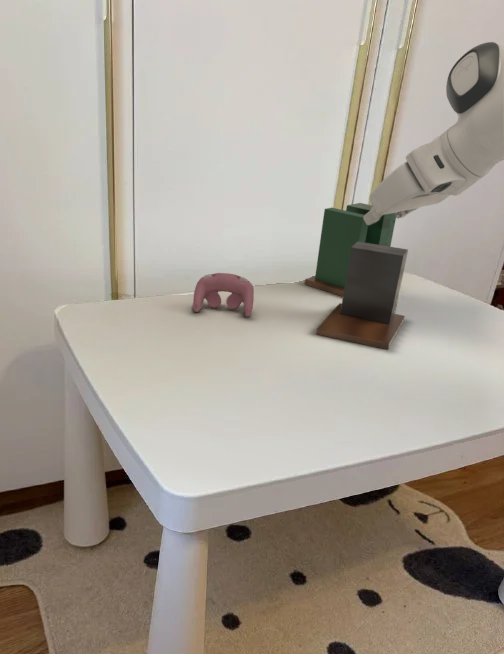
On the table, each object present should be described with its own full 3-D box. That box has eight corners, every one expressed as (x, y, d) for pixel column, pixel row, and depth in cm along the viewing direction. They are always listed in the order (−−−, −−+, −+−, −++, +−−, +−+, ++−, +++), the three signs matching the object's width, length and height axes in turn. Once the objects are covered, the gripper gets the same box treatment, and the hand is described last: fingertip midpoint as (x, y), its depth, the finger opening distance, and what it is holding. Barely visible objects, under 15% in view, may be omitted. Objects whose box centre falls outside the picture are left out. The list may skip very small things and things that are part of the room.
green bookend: (393, 286, 121) (407, 211, 115) (353, 300, 113) (367, 220, 106) (345, 271, 128) (356, 200, 121) (304, 284, 119) (314, 208, 113)
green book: (357, 288, 116) (369, 216, 109) (350, 290, 114) (362, 217, 108) (321, 277, 120) (331, 207, 114) (314, 279, 119) (324, 208, 113)
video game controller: (252, 319, 106) (256, 277, 106) (251, 316, 101) (256, 272, 101) (193, 314, 107) (197, 272, 106) (190, 310, 102) (195, 267, 102)
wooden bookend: (403, 321, 104) (419, 249, 99) (387, 349, 94) (404, 270, 88) (338, 308, 108) (349, 238, 103) (316, 334, 97) (327, 257, 92)
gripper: (470, 144, 103) (404, 196, 113) (407, 149, 90) (339, 208, 100) (490, 177, 102) (422, 226, 113) (429, 187, 89) (358, 242, 99)
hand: (382, 218), depth 106 cm, fingers open, 8 cm apart
